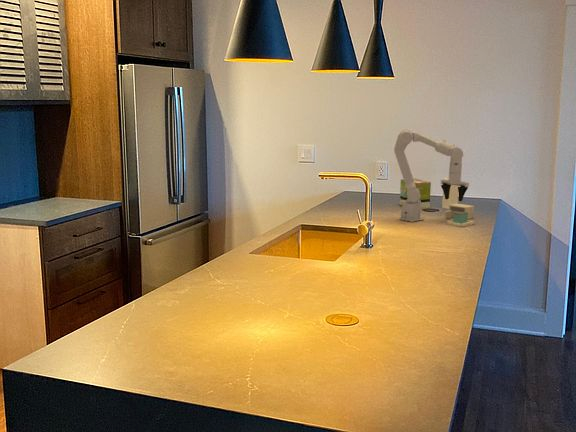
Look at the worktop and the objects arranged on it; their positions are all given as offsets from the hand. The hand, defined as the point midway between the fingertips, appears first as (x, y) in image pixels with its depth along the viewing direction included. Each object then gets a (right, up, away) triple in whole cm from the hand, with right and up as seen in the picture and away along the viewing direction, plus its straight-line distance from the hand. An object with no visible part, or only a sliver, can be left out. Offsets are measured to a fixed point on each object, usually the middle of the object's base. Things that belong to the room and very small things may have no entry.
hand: (453, 200), depth 317 cm
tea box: (-11, -3, +41) cm, 43 cm away
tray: (+2, -12, -6) cm, 13 cm away
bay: (+5, -9, +10) cm, 14 cm away
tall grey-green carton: (+2, -11, -6) cm, 13 cm away
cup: (+8, -3, +40) cm, 41 cm away
